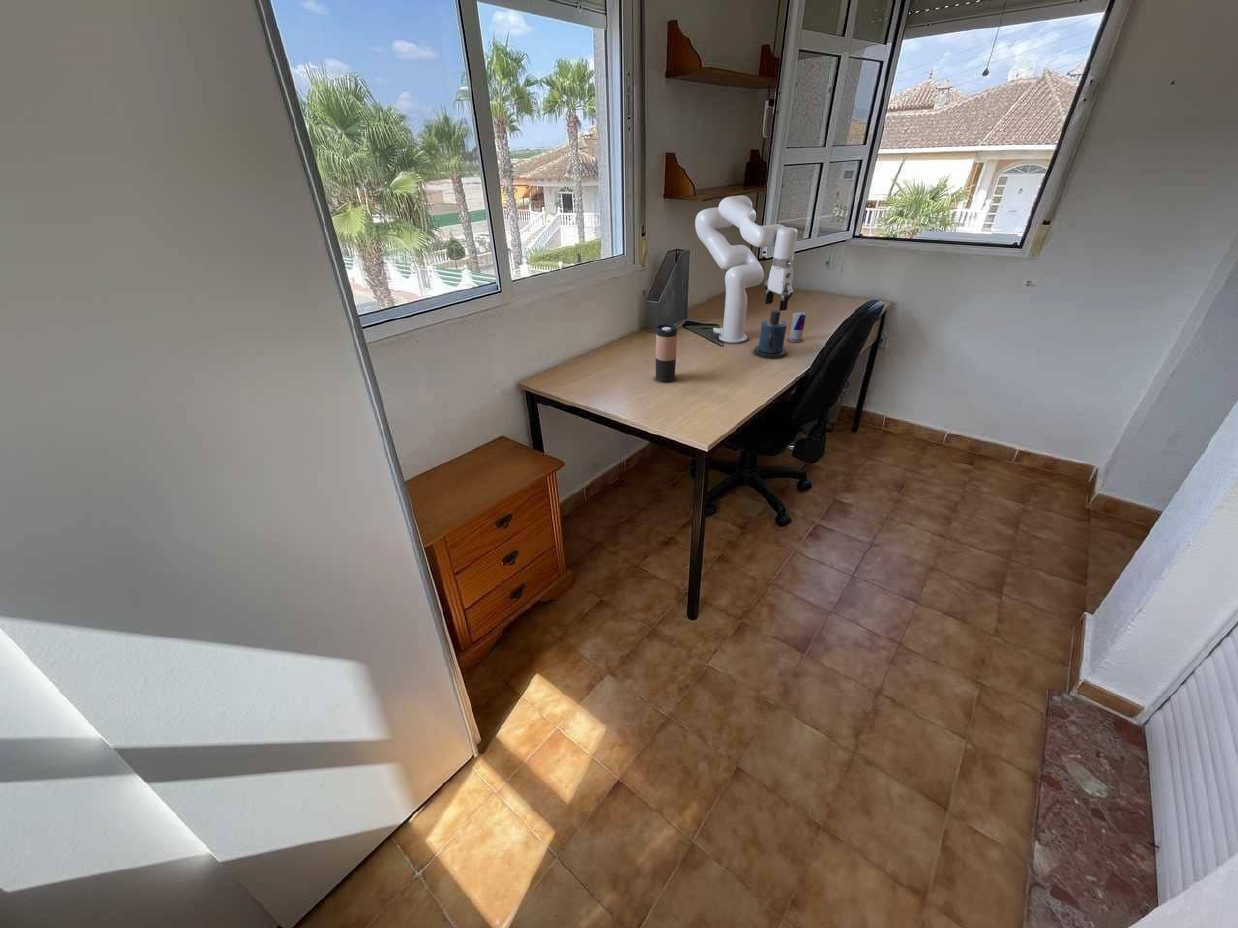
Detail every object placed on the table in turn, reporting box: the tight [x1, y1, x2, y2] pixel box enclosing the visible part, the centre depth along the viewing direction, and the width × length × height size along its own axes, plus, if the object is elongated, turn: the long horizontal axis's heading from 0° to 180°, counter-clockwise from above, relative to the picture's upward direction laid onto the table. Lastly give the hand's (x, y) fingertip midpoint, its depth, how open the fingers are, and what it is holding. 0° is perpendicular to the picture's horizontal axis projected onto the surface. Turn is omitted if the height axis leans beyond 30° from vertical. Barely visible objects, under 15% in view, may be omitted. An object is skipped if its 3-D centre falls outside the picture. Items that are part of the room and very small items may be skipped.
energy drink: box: [788, 311, 807, 343], centre depth 231 cm, size 5×5×12 cm
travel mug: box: [655, 323, 678, 383], centre depth 194 cm, size 8×8×20 cm
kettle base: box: [753, 345, 787, 360], centre depth 221 cm, size 13×13×2 cm
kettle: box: [758, 309, 788, 353], centre depth 216 cm, size 16×10×16 cm, turn 160°
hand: (775, 306), depth 211 cm, fingers open, 9 cm apart
